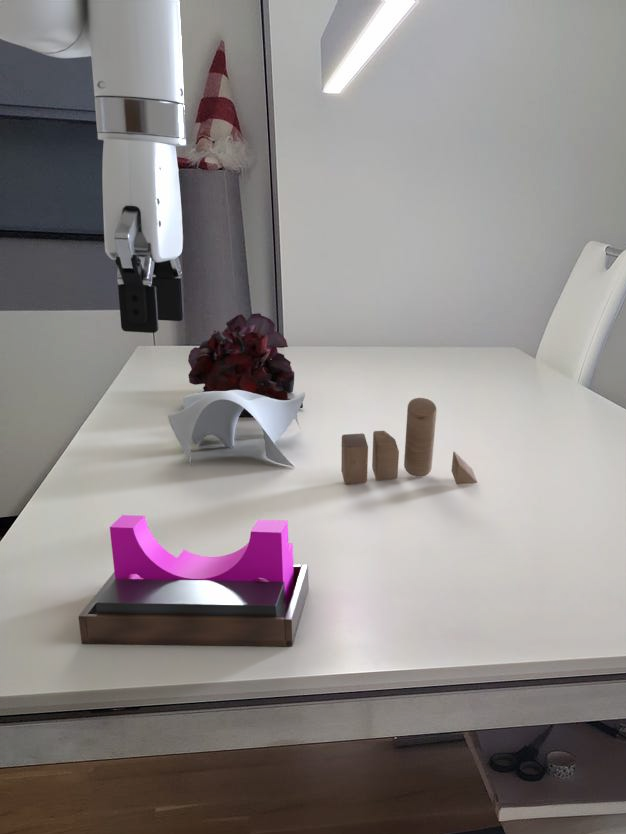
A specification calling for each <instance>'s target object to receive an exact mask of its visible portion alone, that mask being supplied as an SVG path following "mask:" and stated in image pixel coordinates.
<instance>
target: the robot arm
mask: <svg viewBox="0 0 626 834" xmlns="http://www.w3.org/2000/svg"><path fill="white" fill-rule="evenodd" d="M0 40H2V41H4V42H7V43H10V44H14V45H15V46H20V47H23V48H26V49H29V50H31V51H33V52H36V53H39V54H42V55H45V56H48V57H51V58H57V59H58V58H59V59H76V58H87V57H91V67H92V68H91V69H92V70H91V71H92V83H93V94H94V106H95V121H96V131H97V140H98V141H103V146H102V147H103V148H102V166H101V167H102V169H101V170H102V172H101V173H102V175H101V176H102V177H101V178H102V180H101V181H102V211H103V212H102V213H103V239H104V252H105V254H106V255H107V257H108V258H109V259H111V260H113V261H114V262H115V265H116V266H117V272H116V282H117V289H118V305H119V317H120V328H121V330H122V331H123V332H127V333H146V334H150V333H151V334H155V333H158V331H159V329H160V328H159V321H169V322H170V321H171V322H181V321H183V320H184V318H185V314H184V313H185V311H184V293H183V278H182V265H181V263H180V258H181V256H180V255H182V252H183V247H184V246H183V245H184V232H183V229H184V228H183V211H182V210H183V209H182V197H181V185H180V176H179V175H180V174H179V171H180V169H179V166H178V155H177V148H176V147H187V132H186V110H185V105H184V104H185V93H184V92H185V91H184V70H183V52H182V50H183V48H182V29H181V10H180V0H0Z"/></svg>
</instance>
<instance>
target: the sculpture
mask: <svg viewBox="0 0 626 834" xmlns="http://www.w3.org/2000/svg"><path fill="white" fill-rule="evenodd" d="M305 397H306V392H301V393H300V394H298V395H296V396H295V397H294V398H290V399H291V400H276V399H272V398H269V397H266V396H262V395H258V394H254V393H251V392H247V391H242V390H229V391H210V392H196V393H190V394H186V395H184V397H183V400H182V403H183V405H182V406H183V409H181V410H178V411H176V412H173V413H169V414H167V419H168V423H169V425H170V427H171V429H172V432H173V434H174V436H175V438H176V440H177V442H178V444H179V445H180V448H181V449H182V452H183V454H184V456H185V457H186V459H187V461H188V463H189V465H190V466H192V459H191V445H192V441H193V443H194V444H195V445H196V446H197V447H199V446H200V443H201V441H202V439H203V438H204V437H206V436H213V437H216V438H217V439H219V440H220V441H221V442H222V444H223V445H224V446H225V447H227V448H232V447H233V448H234V447H235V434H236V429H237V424H238V421H239V419H240V417H239V416H240V414H241V412H242V411H243V409H244V408H245V409H246V410H247V411H248V412H249V413H250V414H251V415H252V416H253V417H252V418H254V419H255V421H257V423H258V424H259V425H260V427H261V429H262V433H263V438H264V448H265V457H266V458H267V459H268V460H269V461H272V462H273V463H276V464H280V465H285V466H288V467H293V468H296V466H295V465H294V464H293V463H291V462H290V461H289V460H288V459H287V457H286V456H285V455H284V454H283V452H281V450H280V449H279V447H278V446H277V444H276V442H277V441H278V440H279V439H280V438H281V437H282V436H283V435H284V434H285V432H287V430H288V428H289V427H290V426H291V424H292V423H293V421H294V420H295V422H296V423H297V425H298V427H299V428H301V426H300V423H299V420H298V412H299V410H300V409H301V408H300V407H301V405H302V402H303V403H304V399H305Z"/></svg>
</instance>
